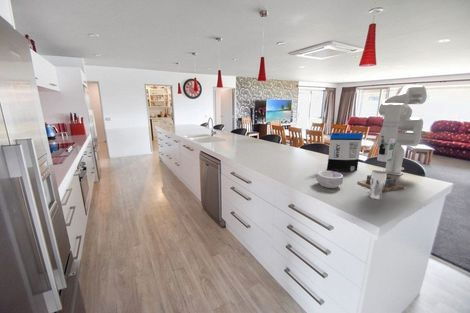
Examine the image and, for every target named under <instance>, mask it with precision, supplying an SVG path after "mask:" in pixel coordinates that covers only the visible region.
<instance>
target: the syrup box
mask: <svg viewBox="0 0 470 313" xmlns="http://www.w3.org/2000/svg"><path fill="white" fill-rule="evenodd" d="M382 143H384V142H382ZM394 144H395V139H389V141H388V143H387V144H386V146H385V153H384V155H381V154H379V149H377V150H378V151H377V158H376V159H377V160H376V161H378V162H383V163H387V162H390V161H392V156H393V150H394ZM383 145H384V144H383Z"/></svg>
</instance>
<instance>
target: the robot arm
mask: <svg viewBox="0 0 470 313" xmlns="http://www.w3.org/2000/svg"><path fill="white" fill-rule="evenodd" d="M427 97H428V95H427V89H426V87H425V86H424V85H419V84H418V85H417V84H416V85H405V86H402V87H400V88H399V89H398V90H397V92H396V94H395V95H392V96H390V97H388V98H385V99H384V100H383V101H382V102H381V103H380V105H379V107H378V113H379V115H380V116H383V122H382V126H381V128H380V130H379V134H378V138H377V139H378V140H377V145H378V150H379V154H381V155H384V153H385V146H386V144H387V143H388V141H389V139H395V144H394V150H393V156H392V161H390V162H385V163H386V164H385V168H384V169H382V171H384V172H386V173H387V174H388V175H393V176H402V175H403V174H404V172H402V171H403V170H405V167H402V166H403V161H404V156H405V149H404V147H403V146H405V147H417V146H418V145H419V144H420V140H421V137H422V136H421V135H422V132H423V128H424V127H423V126H424V120H423V119H422V118H421V117H412V114H413V110H412V108H411V107H410V106H409V105H422V104H424V103H425V102H426V101H427ZM382 142H384V143H382ZM383 144H384V145H383Z"/></svg>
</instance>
